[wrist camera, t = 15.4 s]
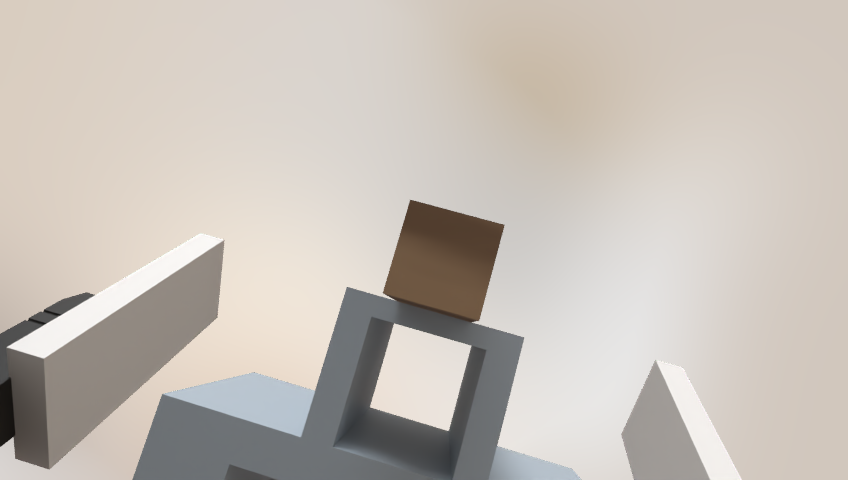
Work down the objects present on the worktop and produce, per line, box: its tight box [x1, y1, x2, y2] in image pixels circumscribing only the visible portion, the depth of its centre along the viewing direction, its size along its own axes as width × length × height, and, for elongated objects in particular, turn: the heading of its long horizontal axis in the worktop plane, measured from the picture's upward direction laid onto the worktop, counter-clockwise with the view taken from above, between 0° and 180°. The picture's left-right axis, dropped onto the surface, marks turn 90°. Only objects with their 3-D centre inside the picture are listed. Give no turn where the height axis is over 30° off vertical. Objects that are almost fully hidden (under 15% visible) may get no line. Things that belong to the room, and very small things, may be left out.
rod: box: [383, 200, 504, 322], centre depth 31 cm, size 24×4×4 cm, turn 178°
